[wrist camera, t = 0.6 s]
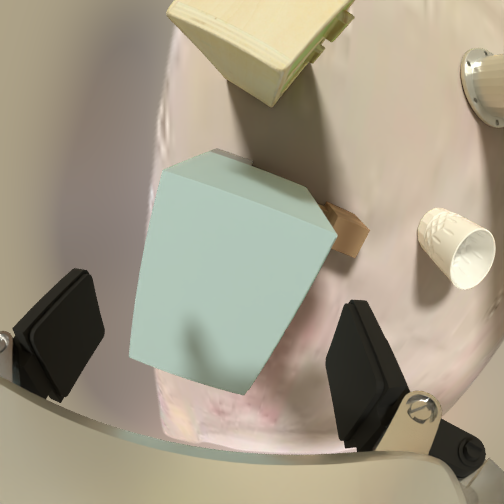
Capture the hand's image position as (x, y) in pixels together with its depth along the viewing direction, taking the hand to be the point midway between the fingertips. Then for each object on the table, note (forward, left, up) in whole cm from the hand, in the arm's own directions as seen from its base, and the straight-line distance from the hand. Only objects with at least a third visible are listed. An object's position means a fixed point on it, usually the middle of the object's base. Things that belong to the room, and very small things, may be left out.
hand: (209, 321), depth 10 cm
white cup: (-26, -5, -26) cm, 37 cm away
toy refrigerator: (+3, -14, -26) cm, 29 cm away
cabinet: (0, +5, -25) cm, 26 cm away
